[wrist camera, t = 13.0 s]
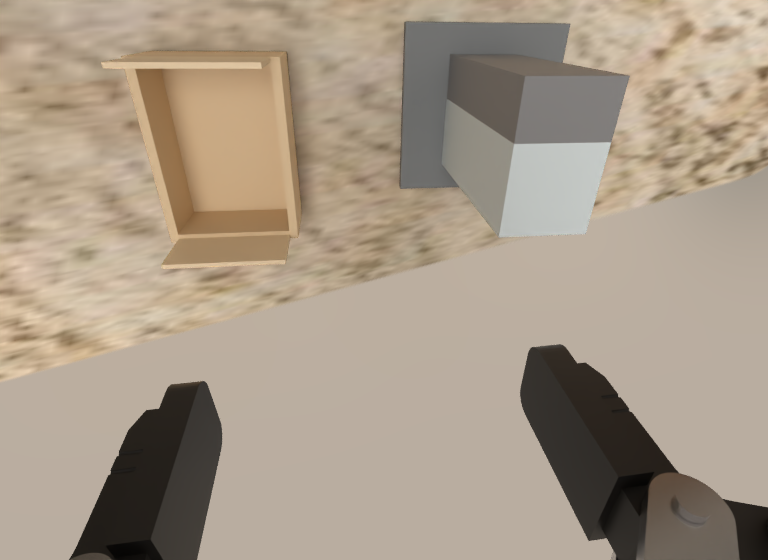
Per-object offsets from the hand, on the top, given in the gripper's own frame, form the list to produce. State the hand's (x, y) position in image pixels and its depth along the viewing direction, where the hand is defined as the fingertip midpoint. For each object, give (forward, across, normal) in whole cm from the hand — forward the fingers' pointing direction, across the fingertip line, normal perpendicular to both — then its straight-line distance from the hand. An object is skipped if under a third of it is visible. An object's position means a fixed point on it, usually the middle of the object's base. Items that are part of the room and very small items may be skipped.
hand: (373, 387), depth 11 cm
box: (+26, -11, -1) cm, 29 cm away
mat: (+27, -11, -1) cm, 29 cm away
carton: (+27, +8, +1) cm, 28 cm away
